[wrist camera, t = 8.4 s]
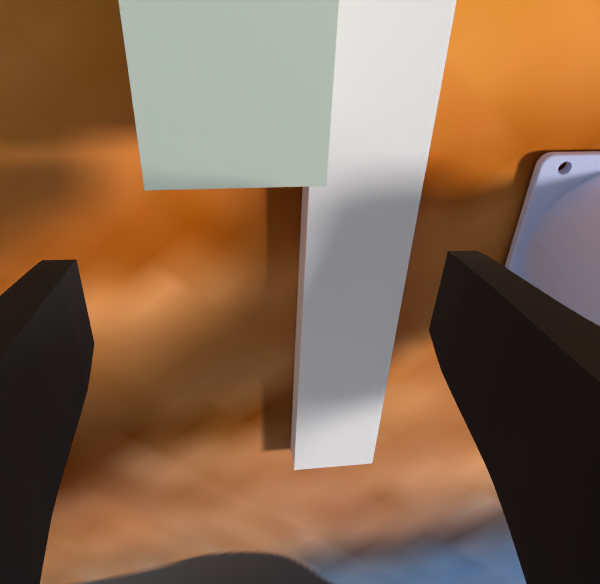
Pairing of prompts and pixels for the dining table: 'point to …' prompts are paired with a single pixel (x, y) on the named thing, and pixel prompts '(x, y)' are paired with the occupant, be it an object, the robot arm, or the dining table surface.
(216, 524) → the dining table surface
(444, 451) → the dining table surface
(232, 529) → the dining table surface
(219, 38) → the cabinet block
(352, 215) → the white flat plank
